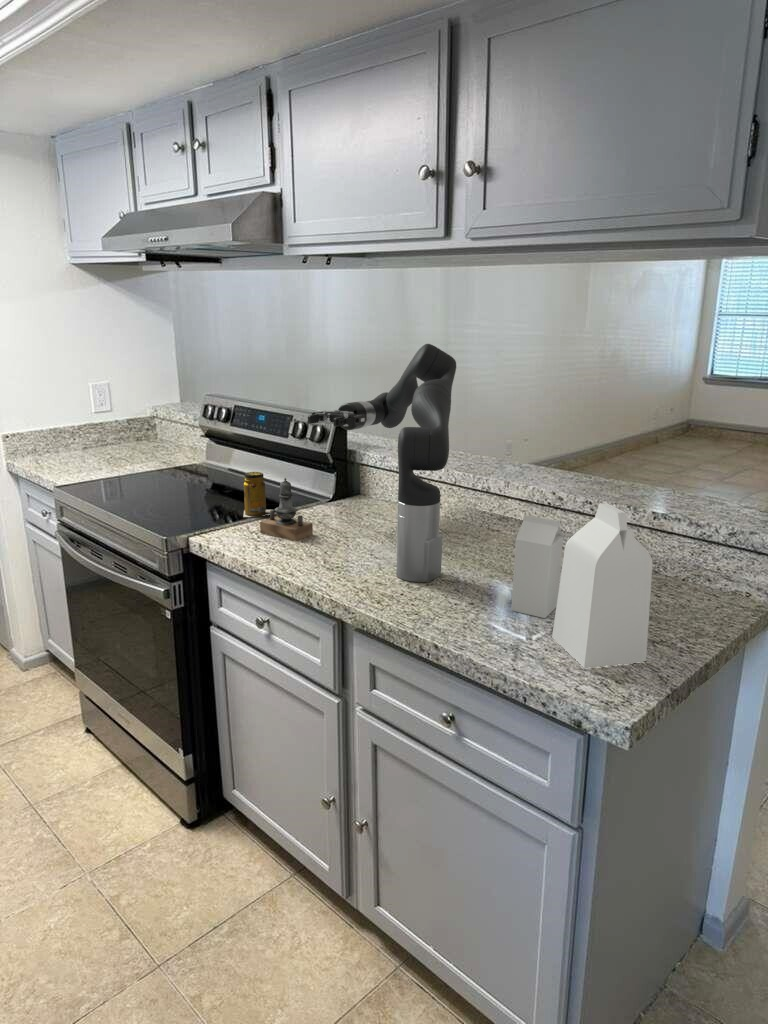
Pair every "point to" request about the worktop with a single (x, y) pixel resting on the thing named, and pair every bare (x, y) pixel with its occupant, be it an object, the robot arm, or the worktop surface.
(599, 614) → the milk
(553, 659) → the worktop surface
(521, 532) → the milk carton
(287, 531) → the walnut stand
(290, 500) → the salt shaker
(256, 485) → the condiment
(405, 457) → the robot arm
